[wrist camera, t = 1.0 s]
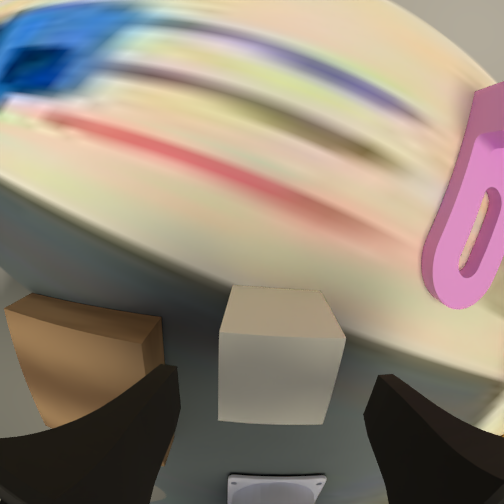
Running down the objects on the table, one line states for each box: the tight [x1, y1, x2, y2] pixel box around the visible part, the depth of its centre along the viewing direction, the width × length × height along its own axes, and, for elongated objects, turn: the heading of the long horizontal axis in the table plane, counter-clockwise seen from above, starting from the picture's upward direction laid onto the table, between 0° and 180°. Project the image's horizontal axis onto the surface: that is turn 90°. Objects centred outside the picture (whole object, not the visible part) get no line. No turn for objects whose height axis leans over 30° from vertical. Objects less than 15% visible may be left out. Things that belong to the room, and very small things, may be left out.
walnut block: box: [4, 293, 174, 466], centre depth 14 cm, size 10×10×3 cm
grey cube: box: [218, 285, 346, 425], centre depth 12 cm, size 4×4×5 cm
